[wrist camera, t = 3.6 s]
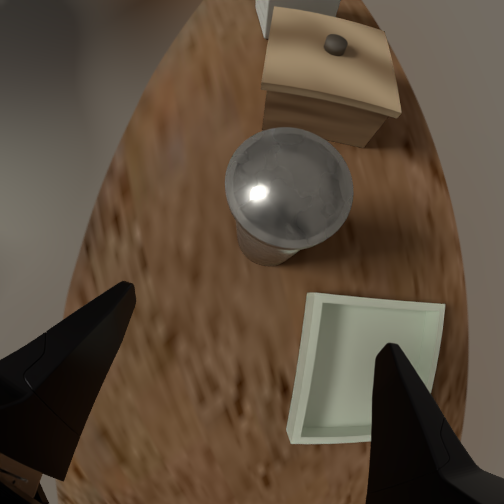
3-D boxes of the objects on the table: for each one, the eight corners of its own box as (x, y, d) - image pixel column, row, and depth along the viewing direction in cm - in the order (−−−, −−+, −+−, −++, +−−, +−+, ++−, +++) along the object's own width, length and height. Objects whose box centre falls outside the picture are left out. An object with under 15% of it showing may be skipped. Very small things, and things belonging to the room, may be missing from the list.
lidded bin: (367, 152, 24) (407, 105, 16) (256, 133, 24) (262, 72, 16) (361, 74, 25) (388, 24, 17) (268, 56, 25) (274, -3, 17)
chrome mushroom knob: (298, 274, 22) (350, 256, 11) (229, 265, 22) (215, 238, 11) (305, 207, 23) (353, 139, 12) (238, 198, 23) (235, 120, 12)
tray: (406, 424, 20) (419, 434, 18) (286, 429, 20) (290, 443, 18) (428, 303, 22) (445, 304, 20) (307, 292, 22) (314, 292, 19)
